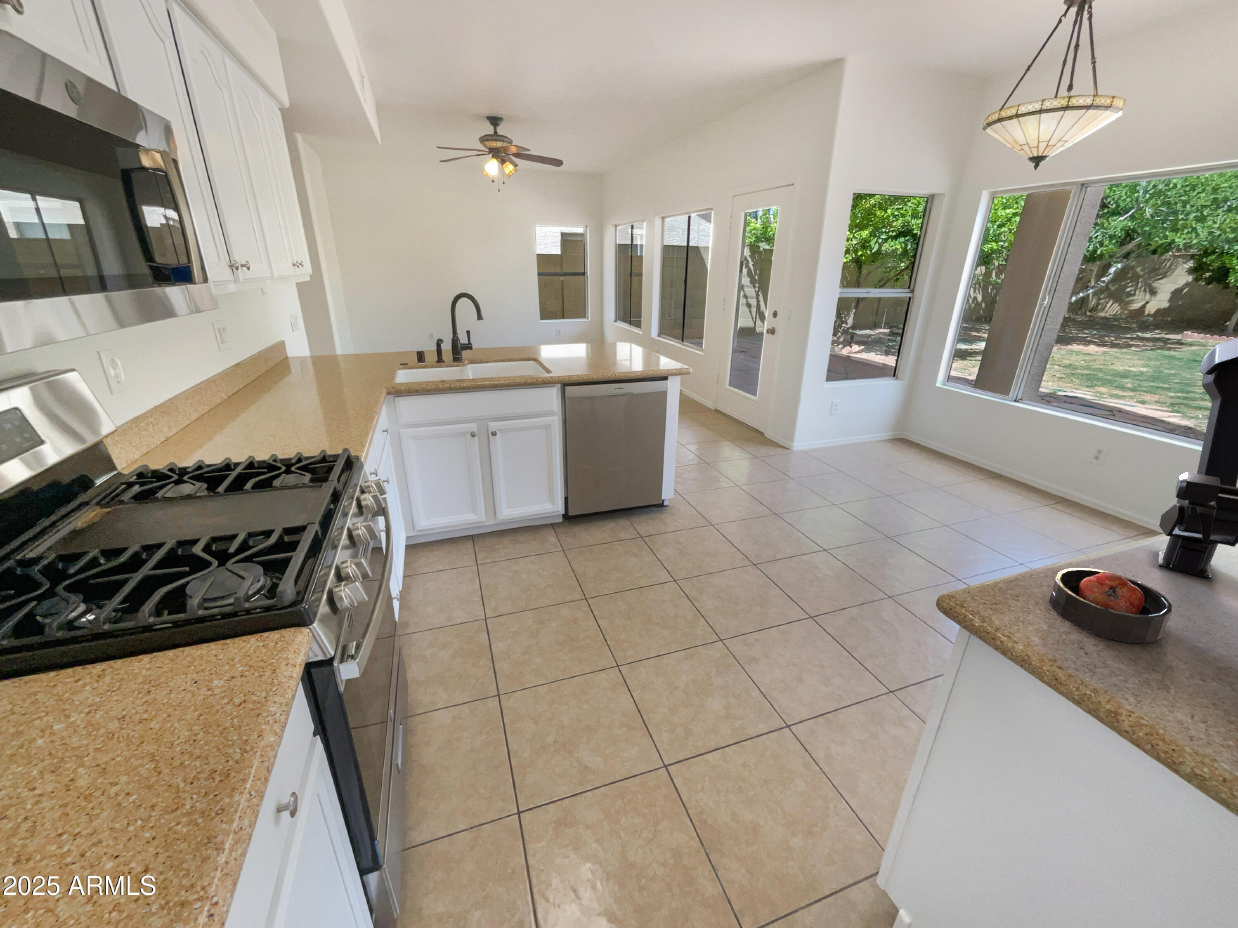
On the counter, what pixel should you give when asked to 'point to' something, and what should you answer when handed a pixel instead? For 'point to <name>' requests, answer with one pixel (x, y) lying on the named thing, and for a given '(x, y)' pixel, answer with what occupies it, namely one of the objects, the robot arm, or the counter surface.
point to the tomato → (1112, 593)
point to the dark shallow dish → (1108, 621)
